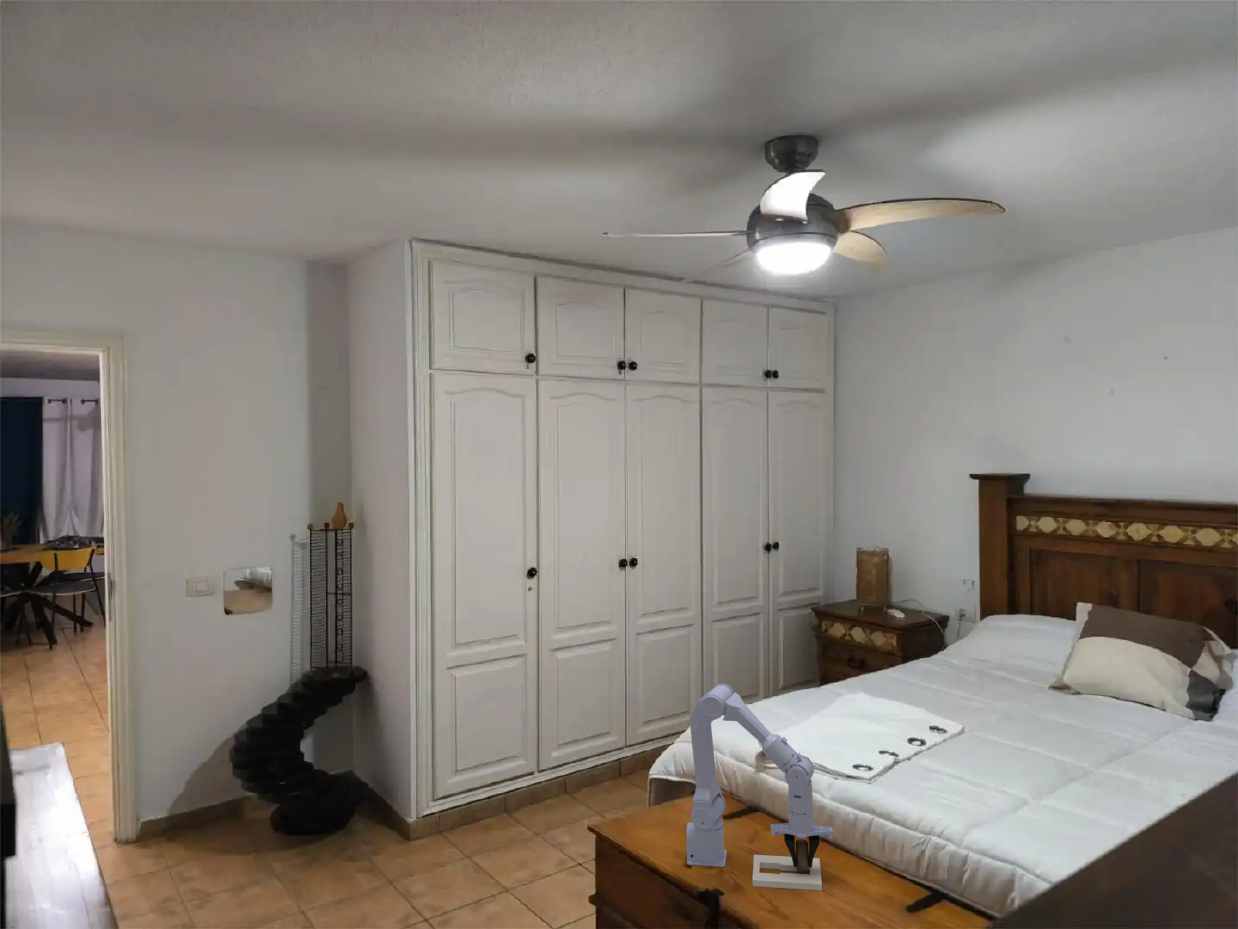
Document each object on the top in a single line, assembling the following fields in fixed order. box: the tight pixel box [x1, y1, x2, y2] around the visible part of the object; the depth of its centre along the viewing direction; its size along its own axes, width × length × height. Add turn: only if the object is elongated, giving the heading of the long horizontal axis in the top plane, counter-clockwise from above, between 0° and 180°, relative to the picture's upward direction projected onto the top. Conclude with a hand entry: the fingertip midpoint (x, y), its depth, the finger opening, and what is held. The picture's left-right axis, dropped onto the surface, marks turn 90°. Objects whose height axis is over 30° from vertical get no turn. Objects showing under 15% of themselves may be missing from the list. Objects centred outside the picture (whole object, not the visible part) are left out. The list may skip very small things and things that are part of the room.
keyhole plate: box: [752, 854, 823, 892], centre depth 202 cm, size 16×12×2 cm
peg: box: [795, 838, 810, 874], centre depth 201 cm, size 3×3×8 cm
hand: (802, 865), depth 201 cm, fingers closed on peg, 3 cm apart
